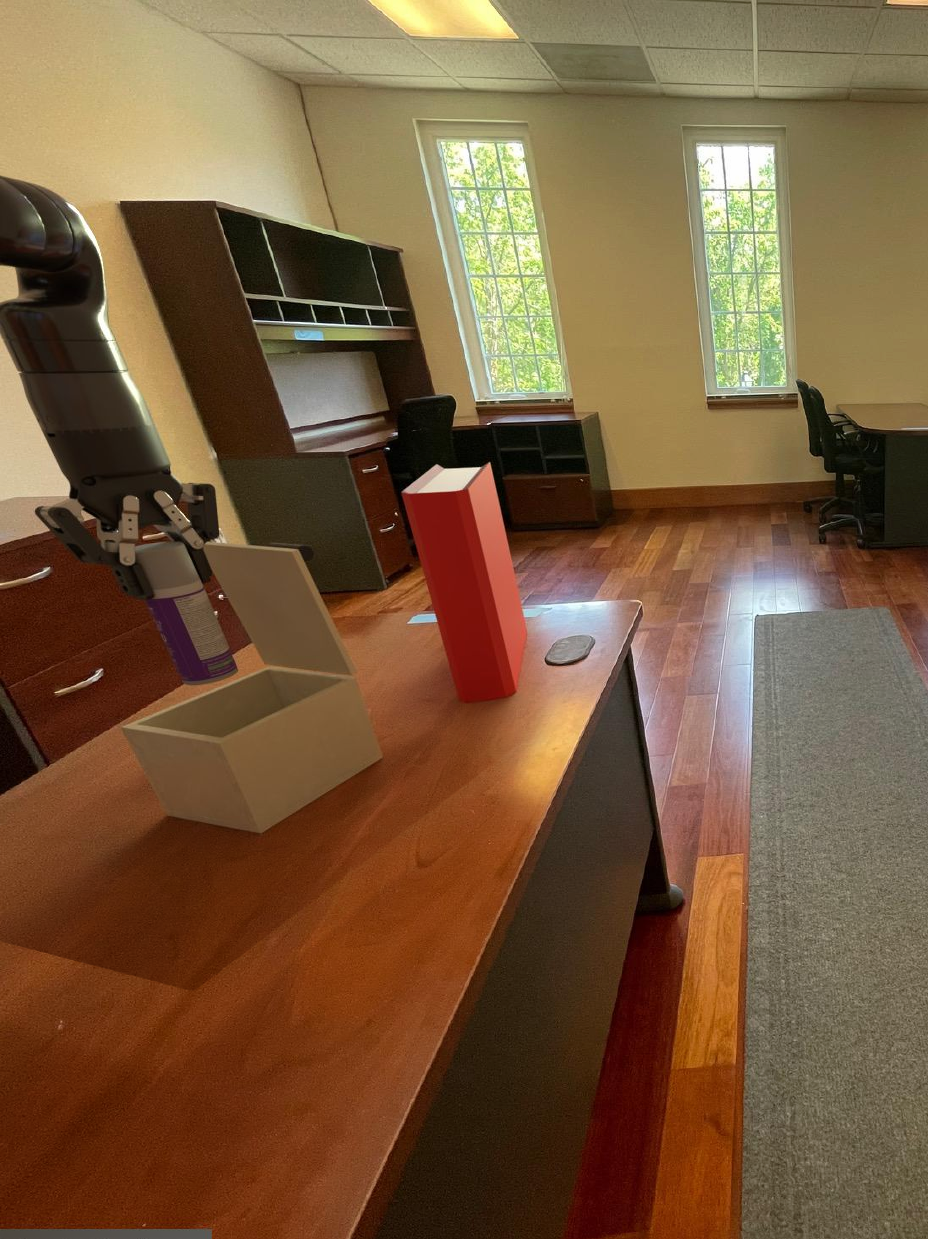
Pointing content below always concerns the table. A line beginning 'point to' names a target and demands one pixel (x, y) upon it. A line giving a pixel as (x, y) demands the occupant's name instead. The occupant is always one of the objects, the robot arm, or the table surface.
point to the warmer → (255, 747)
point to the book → (469, 578)
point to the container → (185, 614)
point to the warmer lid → (280, 605)
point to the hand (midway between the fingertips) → (172, 589)
